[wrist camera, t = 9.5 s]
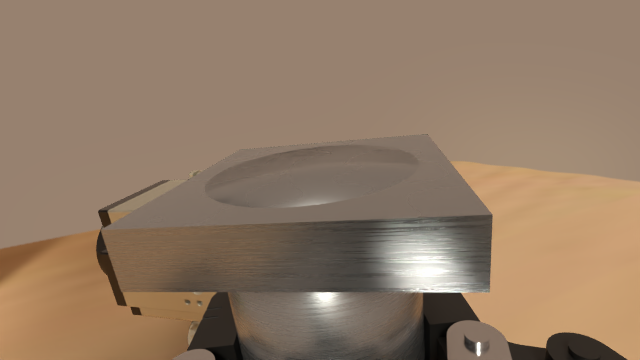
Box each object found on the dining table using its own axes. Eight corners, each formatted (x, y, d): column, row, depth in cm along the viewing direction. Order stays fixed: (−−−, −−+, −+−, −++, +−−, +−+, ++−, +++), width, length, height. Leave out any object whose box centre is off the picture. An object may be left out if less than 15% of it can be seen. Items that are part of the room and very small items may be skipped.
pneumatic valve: (185, 322, 24) (139, 163, 21) (343, 340, 21) (321, 154, 17) (124, 391, 19) (50, 196, 16) (320, 428, 16) (283, 191, 12)
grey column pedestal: (229, 613, 9) (100, 229, 6) (287, 400, 14) (239, 149, 11) (475, 660, 8) (492, 214, 4) (433, 409, 13) (427, 133, 10)
